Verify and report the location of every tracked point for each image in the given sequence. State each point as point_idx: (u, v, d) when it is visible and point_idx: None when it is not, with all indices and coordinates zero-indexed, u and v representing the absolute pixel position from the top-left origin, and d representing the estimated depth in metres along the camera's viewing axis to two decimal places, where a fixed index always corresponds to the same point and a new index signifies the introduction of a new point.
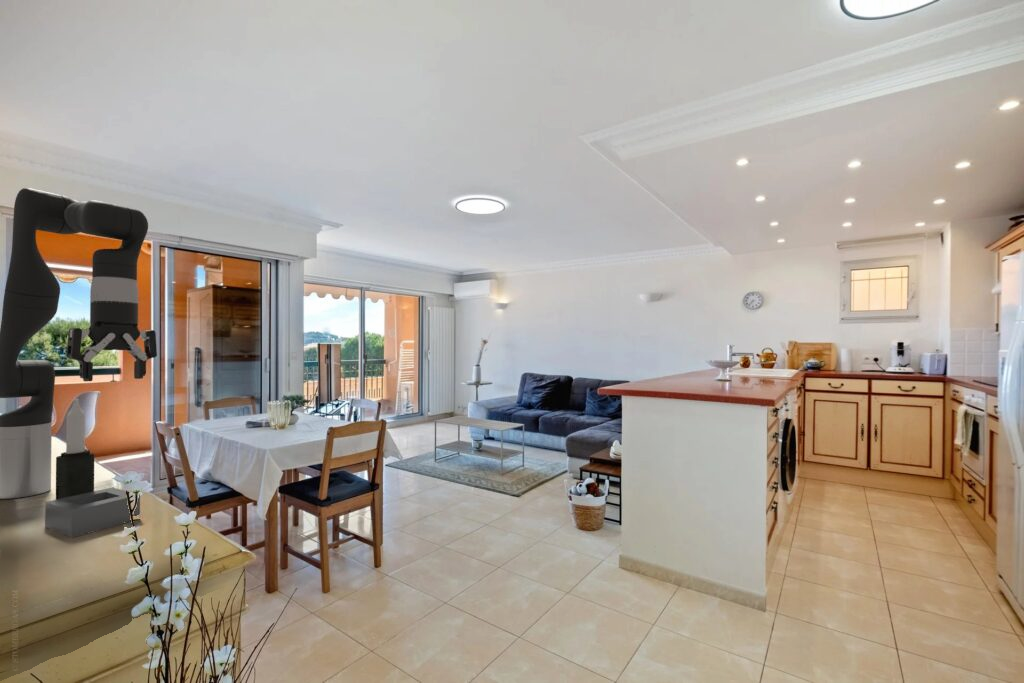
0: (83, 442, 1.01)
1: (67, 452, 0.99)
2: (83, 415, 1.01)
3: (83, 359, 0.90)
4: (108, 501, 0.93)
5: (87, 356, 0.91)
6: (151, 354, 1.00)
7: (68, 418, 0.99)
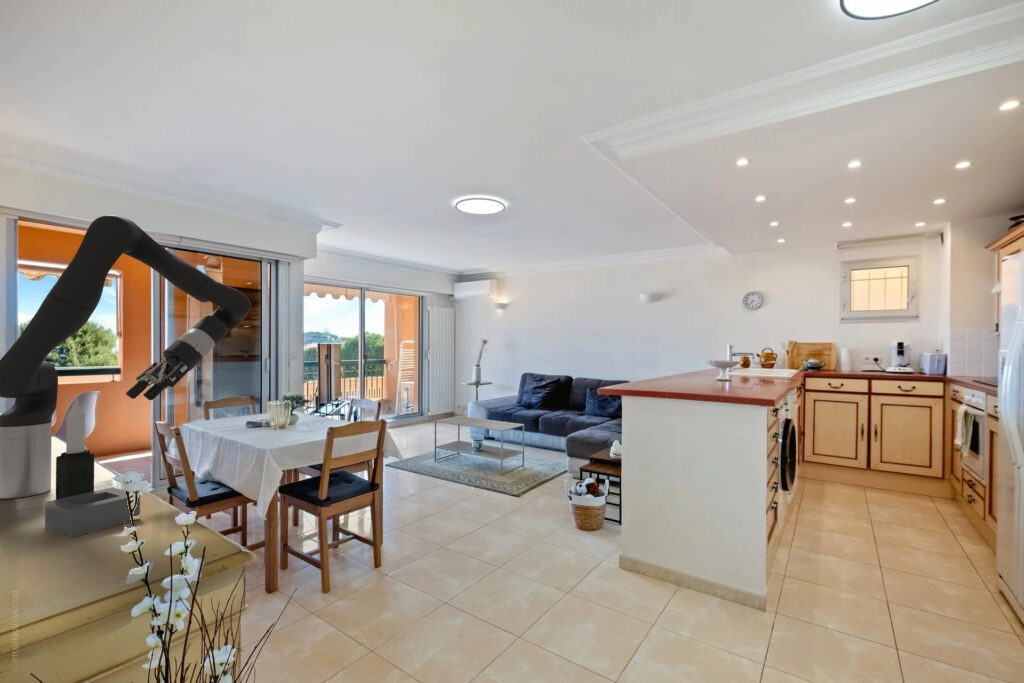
0: (83, 442, 1.01)
1: (67, 452, 0.99)
2: (83, 415, 1.01)
3: (167, 386, 1.12)
4: (108, 501, 0.93)
5: (168, 385, 1.12)
6: None
7: (68, 418, 0.99)
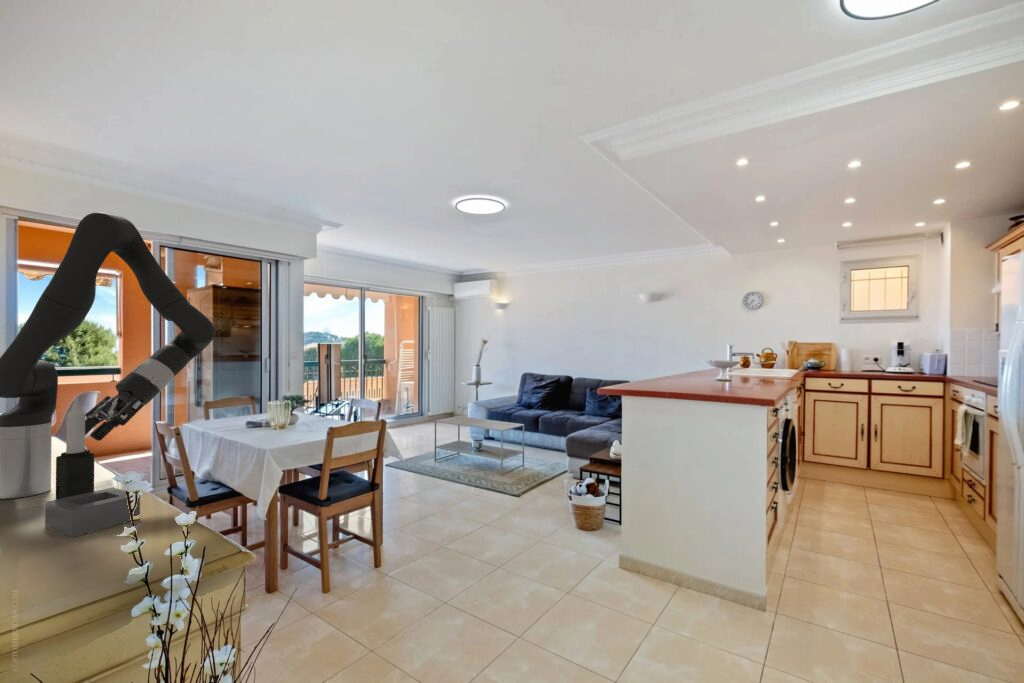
0: (83, 442, 1.01)
1: (67, 452, 0.99)
2: (83, 415, 1.01)
3: (117, 425, 1.03)
4: (108, 501, 0.93)
5: None
6: None
7: (68, 418, 0.99)
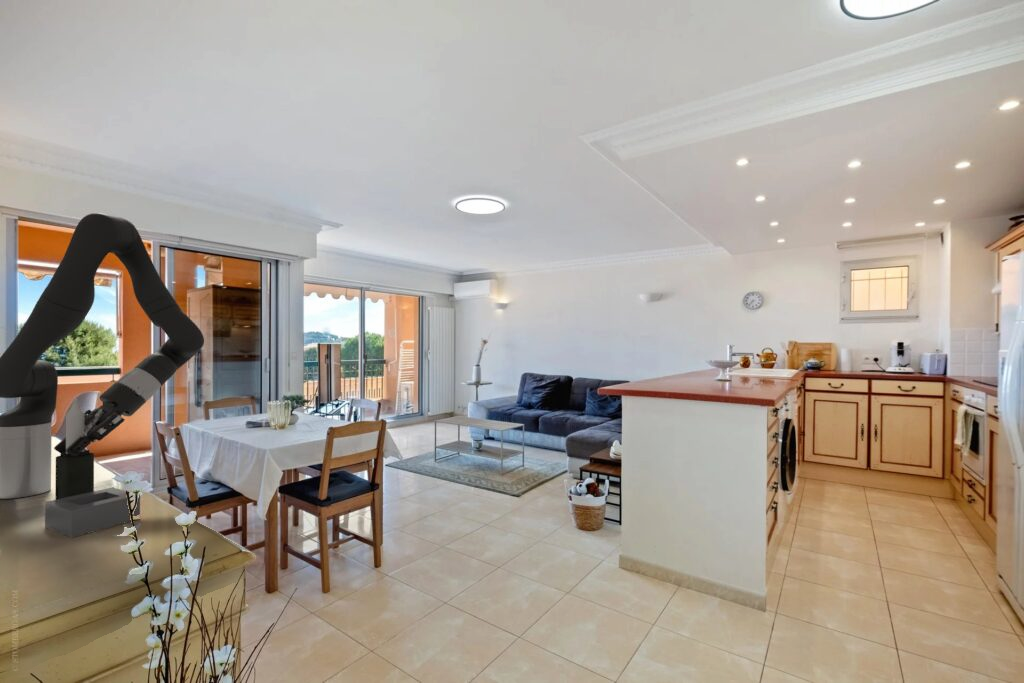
0: None
1: None
2: (82, 415, 1.01)
3: (94, 440, 1.00)
4: (108, 501, 0.93)
5: None
6: None
7: (67, 418, 0.99)
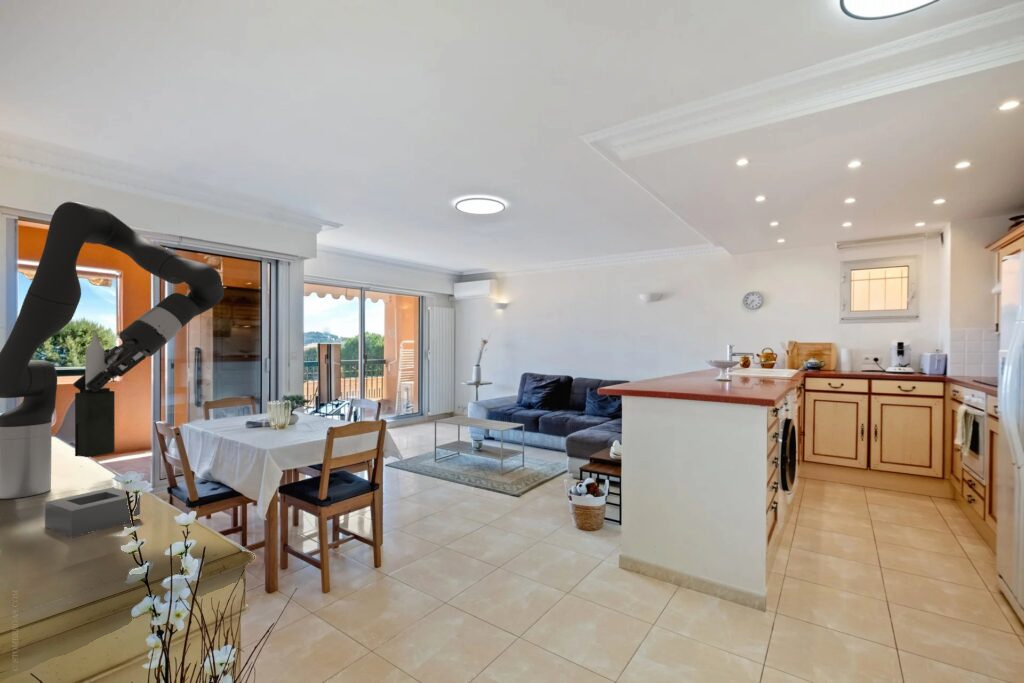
0: None
1: (86, 388, 0.95)
2: (102, 350, 0.96)
3: (115, 376, 0.96)
4: (108, 501, 0.93)
5: (117, 375, 0.97)
6: None
7: (87, 352, 0.95)
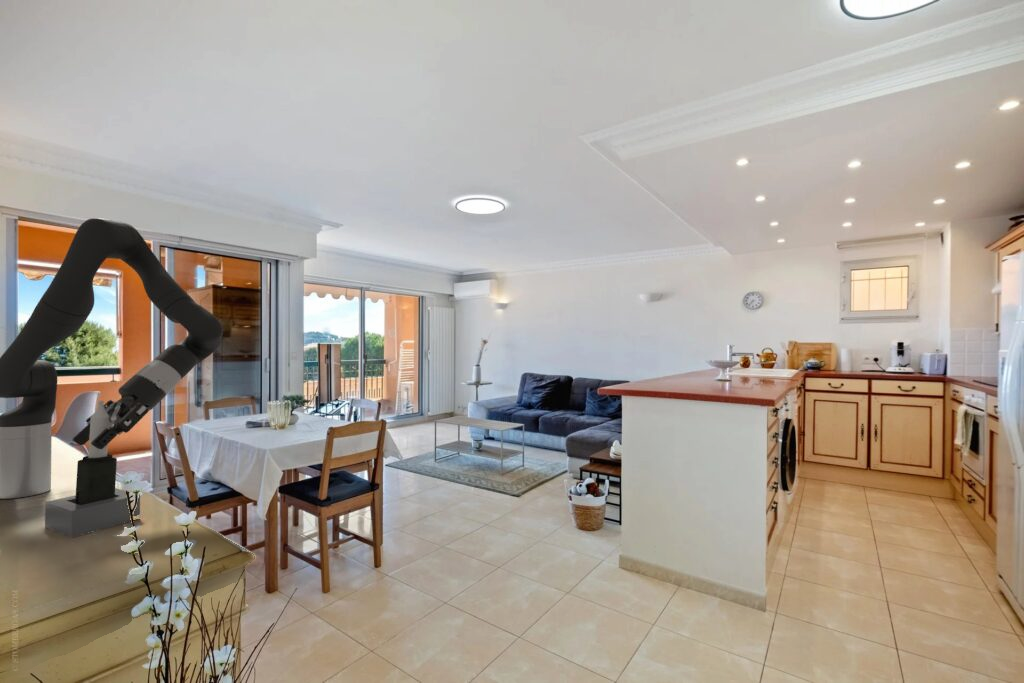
0: (106, 446, 0.96)
1: (89, 456, 0.94)
2: (107, 418, 0.96)
3: (120, 432, 0.95)
4: (108, 501, 0.93)
5: None
6: None
7: (92, 420, 0.95)
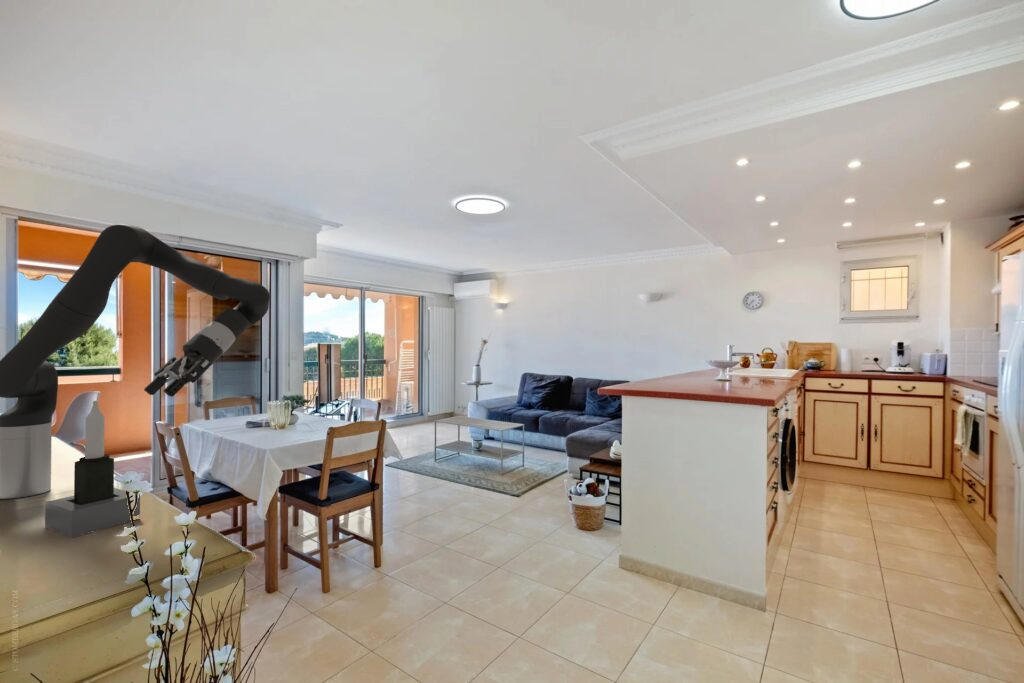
0: (102, 446, 0.96)
1: (86, 457, 0.94)
2: (102, 418, 0.96)
3: (188, 382, 1.07)
4: (108, 501, 0.93)
5: None
6: None
7: (87, 421, 0.94)
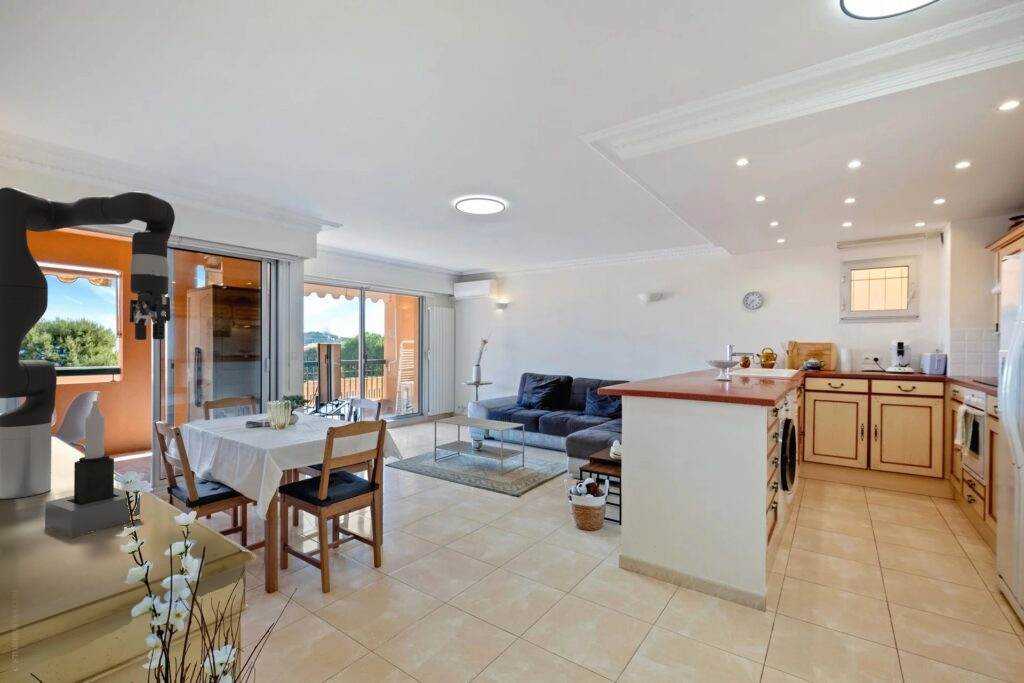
0: (102, 446, 0.96)
1: (86, 457, 0.94)
2: (102, 418, 0.96)
3: (165, 321, 1.14)
4: (108, 501, 0.93)
5: None
6: None
7: (87, 421, 0.94)
